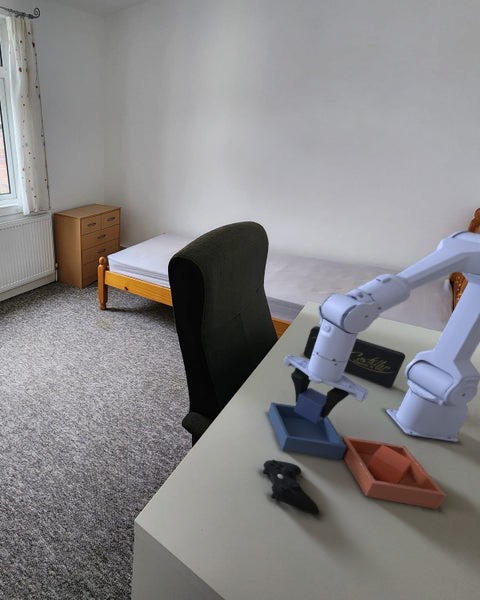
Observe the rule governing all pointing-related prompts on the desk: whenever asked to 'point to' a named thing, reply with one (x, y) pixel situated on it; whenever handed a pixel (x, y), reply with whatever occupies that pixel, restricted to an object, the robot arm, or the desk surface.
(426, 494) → the bin
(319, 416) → the blue block
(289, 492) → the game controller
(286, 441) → the blue bin
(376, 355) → the nameplate
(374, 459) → the terracotta block
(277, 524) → the desk surface
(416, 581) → the desk surface
